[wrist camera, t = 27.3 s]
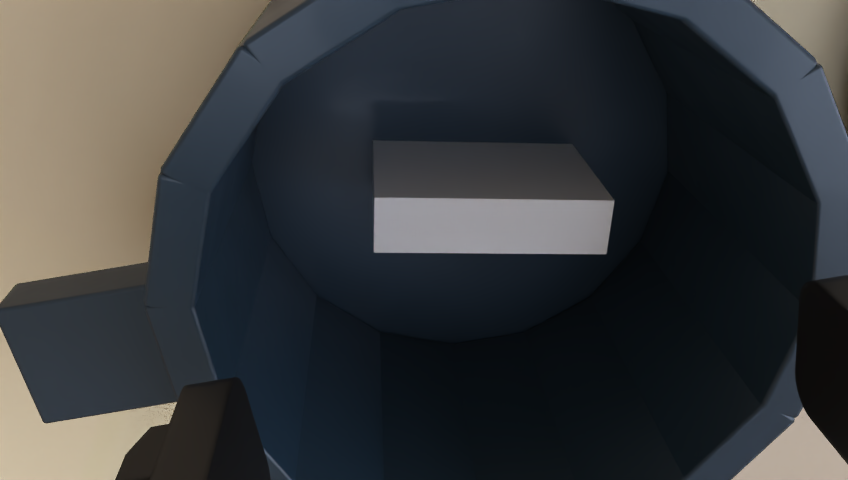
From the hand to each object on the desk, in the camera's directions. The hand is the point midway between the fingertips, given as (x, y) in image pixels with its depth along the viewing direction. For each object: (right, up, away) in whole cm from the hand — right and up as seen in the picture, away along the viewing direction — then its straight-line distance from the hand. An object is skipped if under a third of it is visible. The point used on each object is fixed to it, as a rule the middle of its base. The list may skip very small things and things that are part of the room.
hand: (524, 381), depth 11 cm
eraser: (0, +4, +8) cm, 9 cm away
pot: (0, +4, +8) cm, 9 cm away
